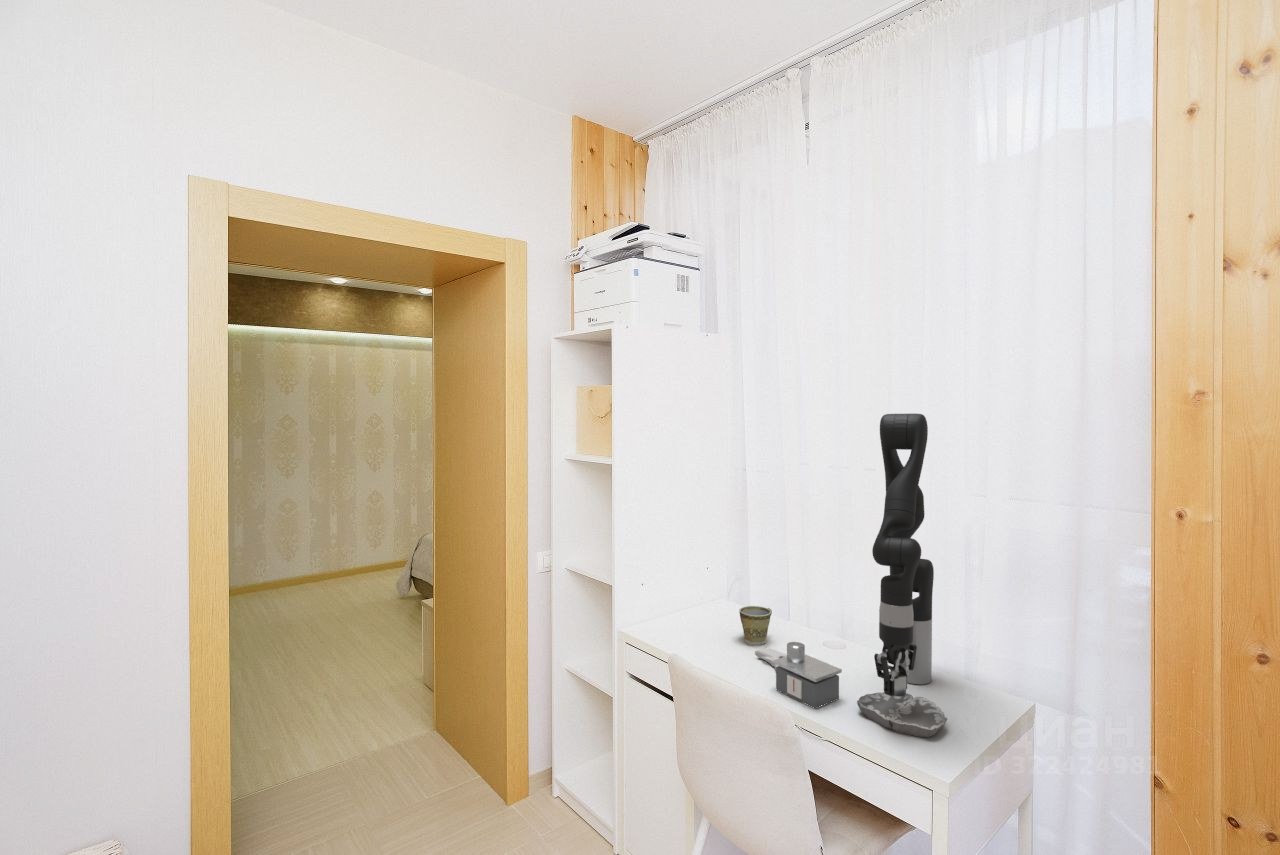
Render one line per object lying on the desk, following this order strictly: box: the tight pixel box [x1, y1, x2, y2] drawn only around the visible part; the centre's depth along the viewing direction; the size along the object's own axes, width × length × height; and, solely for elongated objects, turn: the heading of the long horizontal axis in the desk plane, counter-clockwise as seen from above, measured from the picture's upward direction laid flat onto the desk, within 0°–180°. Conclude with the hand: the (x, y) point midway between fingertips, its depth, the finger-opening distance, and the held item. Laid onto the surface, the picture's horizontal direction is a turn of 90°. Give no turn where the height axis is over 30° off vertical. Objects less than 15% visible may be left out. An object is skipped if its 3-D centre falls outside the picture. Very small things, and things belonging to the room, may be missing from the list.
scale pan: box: [774, 654, 843, 682], centre depth 163 cm, size 14×10×1 cm
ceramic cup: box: [738, 605, 773, 646], centre depth 201 cm, size 13×10×10 cm
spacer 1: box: [786, 641, 806, 663], centre depth 166 cm, size 5×5×4 cm
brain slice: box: [856, 691, 948, 738], centre depth 150 cm, size 20×17×3 cm
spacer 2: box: [889, 670, 907, 697], centre depth 148 cm, size 5×5×4 cm
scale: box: [775, 666, 840, 709], centre depth 163 cm, size 13×10×6 cm
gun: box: [754, 646, 787, 672], centre depth 180 cm, size 18×3×10 cm
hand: (895, 691), depth 148 cm, fingers closed on spacer 2, 4 cm apart
